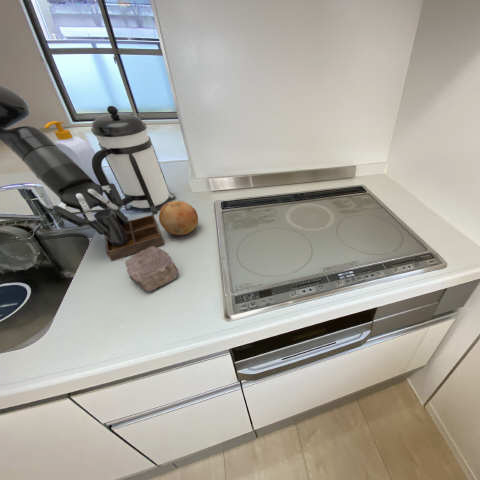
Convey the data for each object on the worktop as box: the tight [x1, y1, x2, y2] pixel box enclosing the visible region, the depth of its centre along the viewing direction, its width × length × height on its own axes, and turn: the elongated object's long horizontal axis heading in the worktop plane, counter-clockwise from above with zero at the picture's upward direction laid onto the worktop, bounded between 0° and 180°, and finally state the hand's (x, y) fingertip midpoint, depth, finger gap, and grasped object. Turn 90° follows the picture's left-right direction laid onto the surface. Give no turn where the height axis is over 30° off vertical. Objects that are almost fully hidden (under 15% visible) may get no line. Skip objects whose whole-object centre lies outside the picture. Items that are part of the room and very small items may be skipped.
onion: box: [158, 200, 199, 236], centre depth 73 cm, size 10×10×10 cm
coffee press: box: [90, 105, 176, 215], centre depth 77 cm, size 17×16×30 cm
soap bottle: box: [44, 120, 111, 186], centre depth 85 cm, size 9×7×23 cm
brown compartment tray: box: [104, 214, 166, 262], centre depth 72 cm, size 12×12×3 cm
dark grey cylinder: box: [93, 209, 130, 247], centre depth 65 cm, size 4×4×9 cm
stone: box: [124, 246, 179, 292], centre depth 62 cm, size 12×9×5 cm
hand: (117, 228), depth 64 cm, fingers closed on dark grey cylinder, 4 cm apart
